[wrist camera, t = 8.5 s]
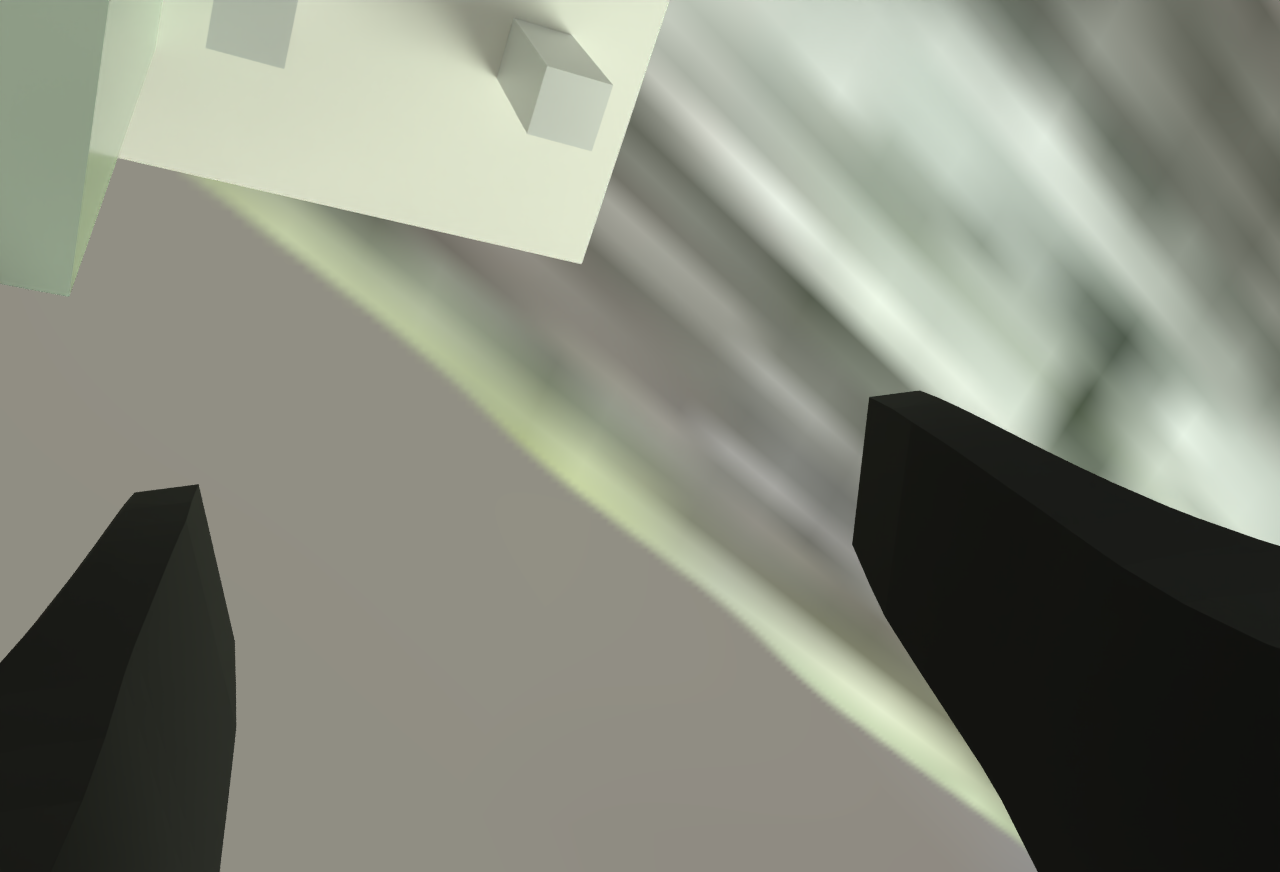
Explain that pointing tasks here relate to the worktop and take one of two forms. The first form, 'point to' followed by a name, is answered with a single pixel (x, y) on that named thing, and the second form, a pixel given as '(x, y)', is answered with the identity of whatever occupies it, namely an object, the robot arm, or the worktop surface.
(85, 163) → the pale green tall block
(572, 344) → the worktop surface
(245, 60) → the rack
